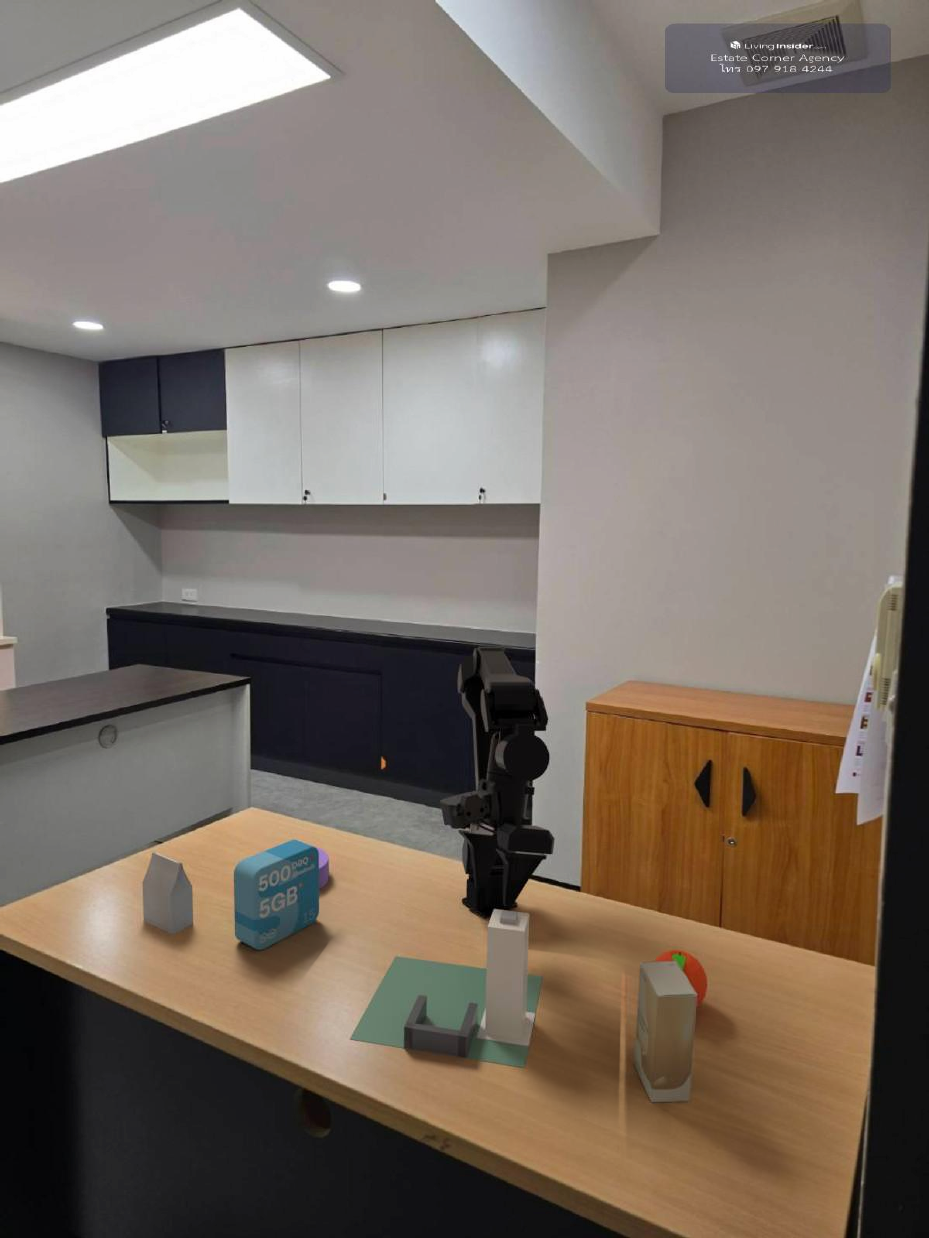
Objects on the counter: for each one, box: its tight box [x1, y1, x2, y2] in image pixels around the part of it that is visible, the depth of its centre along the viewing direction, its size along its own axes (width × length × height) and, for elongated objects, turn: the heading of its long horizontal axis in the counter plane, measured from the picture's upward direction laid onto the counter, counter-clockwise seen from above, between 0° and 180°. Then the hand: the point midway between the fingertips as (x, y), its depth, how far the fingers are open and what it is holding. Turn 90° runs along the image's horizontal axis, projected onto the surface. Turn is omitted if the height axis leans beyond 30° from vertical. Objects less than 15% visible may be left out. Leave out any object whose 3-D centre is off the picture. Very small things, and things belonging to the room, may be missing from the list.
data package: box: [233, 839, 320, 951], centre depth 111 cm, size 12×4×12 cm, turn 143°
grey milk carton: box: [142, 851, 194, 935], centre depth 113 cm, size 4×7×10 cm, turn 55°
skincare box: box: [633, 961, 698, 1103], centre depth 82 cm, size 6×4×12 cm
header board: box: [349, 955, 543, 1069], centre depth 93 cm, size 18×20×4 cm
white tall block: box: [485, 909, 530, 1039], centre depth 89 cm, size 4×4×14 cm
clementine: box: [653, 949, 708, 1007], centre depth 95 cm, size 8×7×7 cm
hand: (492, 896), depth 100 cm, fingers open, 9 cm apart
